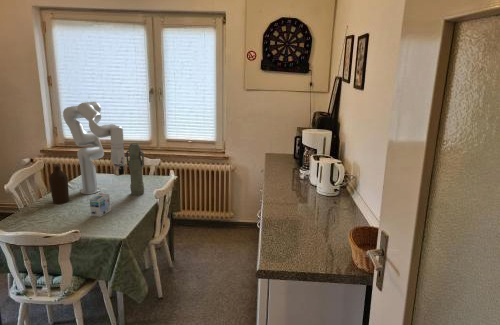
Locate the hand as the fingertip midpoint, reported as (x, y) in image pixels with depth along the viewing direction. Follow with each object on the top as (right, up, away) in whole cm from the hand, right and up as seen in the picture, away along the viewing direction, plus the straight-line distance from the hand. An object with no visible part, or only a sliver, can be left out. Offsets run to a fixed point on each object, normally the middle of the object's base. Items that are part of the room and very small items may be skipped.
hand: (119, 173), depth 238 cm
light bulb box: (-5, -24, -15) cm, 29 cm away
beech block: (0, -1, 0) cm, 1 cm away
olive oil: (-39, -19, +3) cm, 43 cm away
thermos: (+6, -15, +19) cm, 25 cm away
